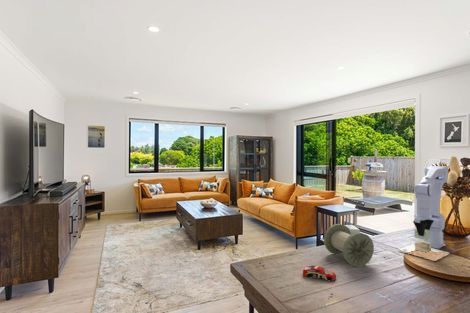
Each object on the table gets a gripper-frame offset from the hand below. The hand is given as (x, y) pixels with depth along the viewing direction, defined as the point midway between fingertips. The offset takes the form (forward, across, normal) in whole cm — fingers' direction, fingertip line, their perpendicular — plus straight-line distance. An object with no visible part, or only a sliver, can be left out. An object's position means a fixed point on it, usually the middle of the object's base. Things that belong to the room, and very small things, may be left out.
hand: (423, 234), depth 133 cm
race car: (+10, +63, -13) cm, 65 cm away
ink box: (+10, +24, -24) cm, 35 cm away
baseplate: (+9, 0, 0) cm, 9 cm away
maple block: (+8, 0, 0) cm, 8 cm away
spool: (+10, +38, -17) cm, 43 cm away
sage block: (+2, 0, 0) cm, 2 cm away
